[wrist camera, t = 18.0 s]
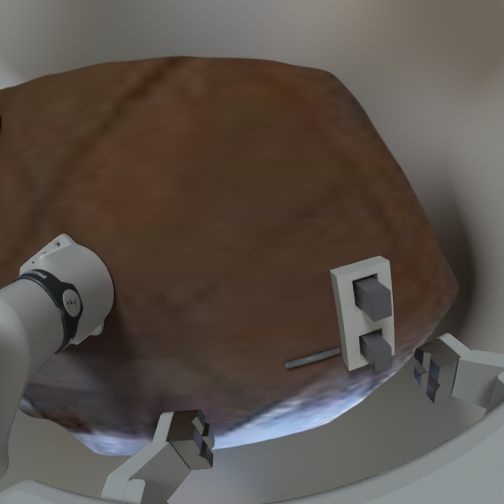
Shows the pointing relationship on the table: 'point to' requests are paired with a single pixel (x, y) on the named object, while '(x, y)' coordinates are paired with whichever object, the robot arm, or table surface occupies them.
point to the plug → (372, 298)
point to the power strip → (359, 320)
